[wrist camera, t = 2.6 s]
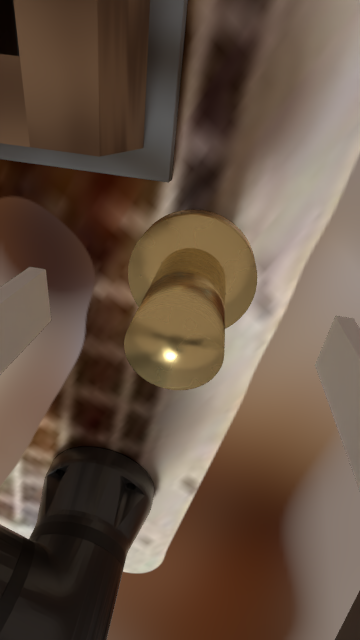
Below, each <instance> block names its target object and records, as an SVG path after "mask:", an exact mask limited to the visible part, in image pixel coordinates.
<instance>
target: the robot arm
mask: <svg viewBox="0 0 360 640" xmlns="http://www.w3.org/2000/svg"><path fill="white" fill-rule="evenodd" d="M50 321H51V312H50V303H49V294H48V285H47V276H46V270H45V269H40V268H34V267H29V268H27V269H26V270H24V271H23V272H22V273H20V274H19V275H17V276H16V277H14V278H13V279H11V280H10V281H8V282H7V283H5V284H4V285H3V286H1V287H0V375H1V373H2V372H3V371H4V370H5V369H6V368H7V367H8V366H9V365H10V364H11V363H12V362H13V361H14V360H15V358H16V357H17V356H18V355H19V354H20V353H21V352H22V351H23V350H24V349H25V348H26V347H27V346H28V345H29V344H30V343H31V342H32V340H33V339H34V338H35V337H36V336H37V335H38V334H39V333H40V332H41V331H42V330H43V329H44V328H45V327H46V326H47V325H48V324H49V322H50ZM315 366H316V369H317V372H318V375H319V378H320V380H321V383H322V386H323V388H324V392H325V395H326V397H327V400H328V402H329V406H330V409H331V411H332V414H333V417H334V420H335V423H336V426H337V428H338V431H339V434H340V437H341V440H342V442H343V445H344V448H345V451H346V454H347V457H348V459H349V462H350V465H351V468H352V471H353V474H354V476H355V479H356V482H357V485H358V488H359V490H360V328H359V326H358V325H357V323H356V322H355V320H354V319H353V318H347V317H340V316H335V318H334V321H333V323H332V326H331V328H330V330H329V333H328V335H327V338H326V340H325V342H324V345H323V347H322V350H321V352H320V354H319V357H318V359H317V361H316V364H315ZM153 497H154V485H153V482H152V480H151V478H150V476H149V475H148V474H147V472H146V471H145V470H144V469H143V468H142V467H141V466H139V465H138V464H137V463H136V462H134V461H133V460H131V459H129V458H127V457H125V456H123V455H121V454H119V453H116V452H113V451H110V450H106V449H102V448H95V447H79V448H73V449H69V450H66V451H64V452H62V453H61V454H59V455H58V456H57V457H56V458H55V459H54V461H53V463H52V465H51V467H50V468H49V470H48V472H47V474H46V477H45V480H44V485H43V491H42V497H41V502H40V508H39V513H38V519H37V523H36V526H35V528H34V530H33V532H32V534H31V536H30V538H29V539H27V538H25V537H23V536H21V535H19V534H17V533H15V532H14V531H12V530H10V529H8V528H6V527H4V526H2V525H0V640H107V636H108V631H109V627H110V623H111V619H112V614H113V610H114V606H115V602H116V598H117V593H118V589H119V585H120V581H121V576H122V572H123V568H124V564H125V559H126V556H127V553H128V550H129V549H130V547H131V545H132V543H133V541H134V540H135V538H136V536H137V534H138V533H139V531H140V529H141V527H142V525H143V524H144V522H145V520H146V518H147V517H148V515H149V513H150V510H151V506H152V502H153ZM335 640H360V591H359V593H358V595H357V597H356V599H355V601H354V603H353V605H352V607H351V609H350V611H349V613H348V615H347V617H346V619H345V621H344V623H343V625H342V627H341V629H340V630H339V632H338V635H337V636H336V638H335Z"/></svg>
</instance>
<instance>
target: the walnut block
mask: <svg viewBox="0 0 360 640" xmlns="http://www.w3.org/2000/svg"><path fill="white" fill-rule="evenodd" d="M187 3H188V0H0V159H4V160H11V161H18V162H25V163H33V164H40V165H47V166H54V167H61V168H69V169H76V170H83V171H90V172H97V173H105V174H112V175H119V176H126V177H133V178H141V179H148V180H155V181H162V182H170V181H171V180H172V170H173V159H174V148H175V137H176V126H177V115H178V103H179V92H180V81H181V70H182V59H183V48H184V37H185V25H186V14H187Z"/></svg>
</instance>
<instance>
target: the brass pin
mask: <svg viewBox="0 0 360 640" xmlns="http://www.w3.org/2000/svg"><path fill="white" fill-rule="evenodd" d="M128 280H129V286H130V290H131V293H132V295H133V298H134V300H135V302H136V303H137V305H138V307H139V308H138V310H137V312H136V314H135V316H134V318H133V320H132V322H131V324H130V326H129V328H128V330H127V332H126V335H125V339H124V349H125V354H126V357H127V360H128V362H129V363H130V365H131V366H132V368H133V369H134V370H135V371H136V373H137V374H139V375H140V376H141V377H142V378H143V379H145V380H146V381H148V382H150V383H151V384H154V385H156V386H159V387H162V388H166V389H171V390H187V389H193V388H196V387H199V386H201V385H204V384H205V383H207V382H209V381H210V380H211V379H212V378H213V377H214V376H215V375H216V374H217V373H218V371H219V370H220V368H221V366H222V363H223V360H224V340H225V328H227V327H229V326H231V325H232V324H234V323H235V322H236V321H237V320H238V319H240V318H241V317H242V315H243V314H244V313H245V312H246V310H247V309H248V308H249V306H250V304H251V302H252V300H253V298H254V294H255V291H256V286H257V270H256V264H255V259H254V255H253V251H252V249H251V246H250V244H249V242H248V240H247V239H246V237H245V235H244V234H243V233H242V232H241V230H240V229H239V228H238V227H236V226H235V225H234V224H233V223H232V222H230V221H229V220H228V219H226V218H224V217H222V216H220V215H218V214H215V213H212V212H209V211H204V210H195V209H192V210H182V211H177V212H174V213H171V214H168V215H166V216H165V217H163V218H161V219H159V220H158V221H157V222H155V223H154V224H153V225H152V226H151V227H150V228H149V229H148V230H147V231H146V232H145V234H144V235H143V236H142V237H141V239H140V240H139V241H138V242H137V244H136V246H135V248H134V249H133V252H132V254H131V257H130V261H129V267H128Z"/></svg>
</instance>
